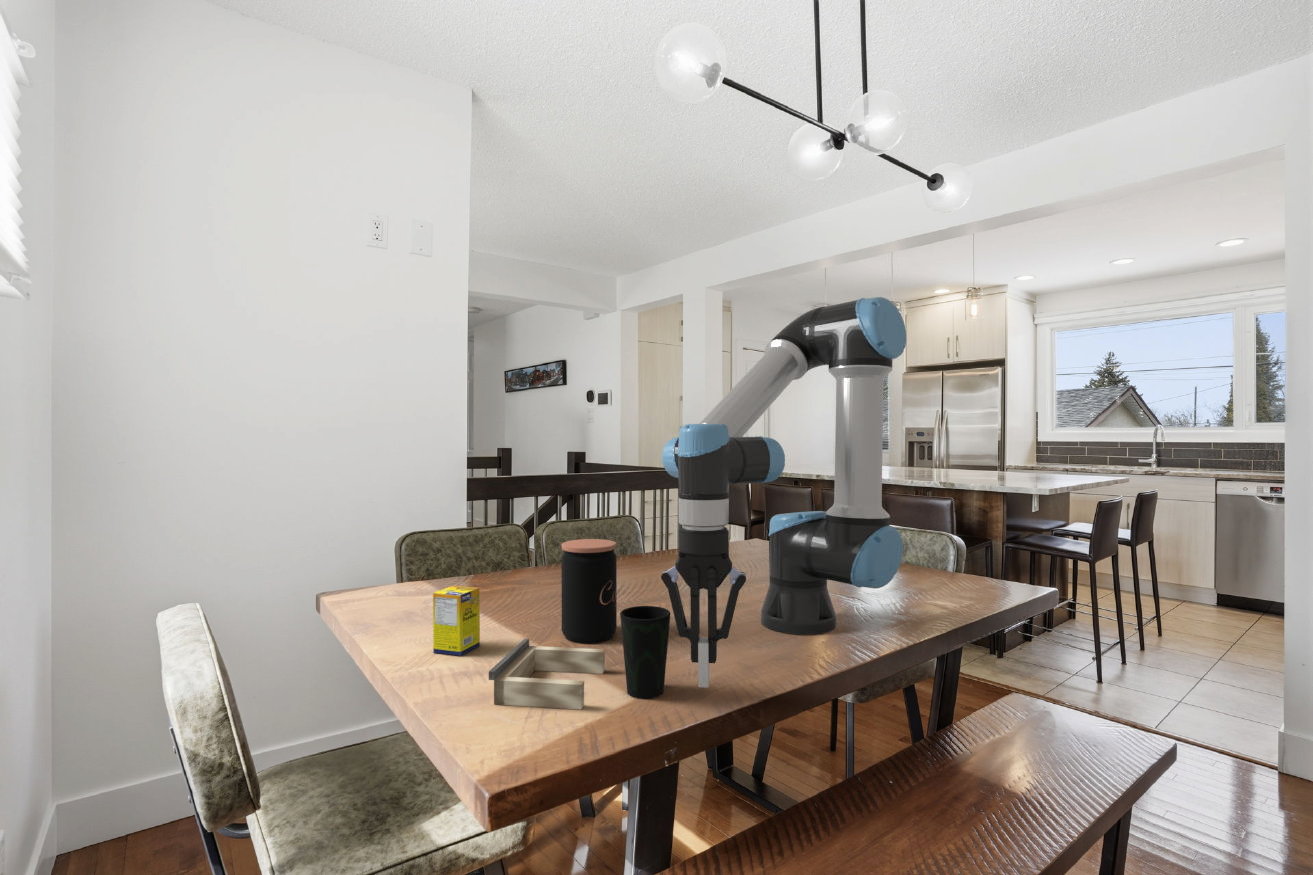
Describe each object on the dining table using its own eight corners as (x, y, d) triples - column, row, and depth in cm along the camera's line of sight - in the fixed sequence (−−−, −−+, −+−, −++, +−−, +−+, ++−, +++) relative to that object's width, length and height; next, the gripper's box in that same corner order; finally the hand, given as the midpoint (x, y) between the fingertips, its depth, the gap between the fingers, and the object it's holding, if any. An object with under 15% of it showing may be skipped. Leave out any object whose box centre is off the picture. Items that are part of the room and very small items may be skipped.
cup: (619, 682, 98) (619, 606, 98) (667, 680, 99) (667, 604, 99) (620, 702, 91) (620, 620, 91) (673, 700, 91) (673, 619, 91)
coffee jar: (608, 646, 115) (607, 548, 115) (553, 642, 117) (553, 547, 117) (622, 628, 126) (622, 539, 126) (572, 625, 128) (572, 538, 128)
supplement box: (480, 646, 116) (480, 587, 116) (460, 656, 110) (460, 594, 110) (453, 642, 117) (453, 584, 117) (432, 653, 112) (432, 592, 112)
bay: (604, 670, 103) (604, 641, 103) (581, 709, 88) (581, 676, 88) (524, 666, 105) (524, 638, 105) (488, 703, 90) (488, 671, 90)
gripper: (747, 523, 96) (747, 676, 96) (663, 522, 98) (663, 672, 98) (747, 530, 89) (747, 696, 89) (657, 529, 91) (657, 691, 91)
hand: (703, 683), depth 93 cm, fingers closed
